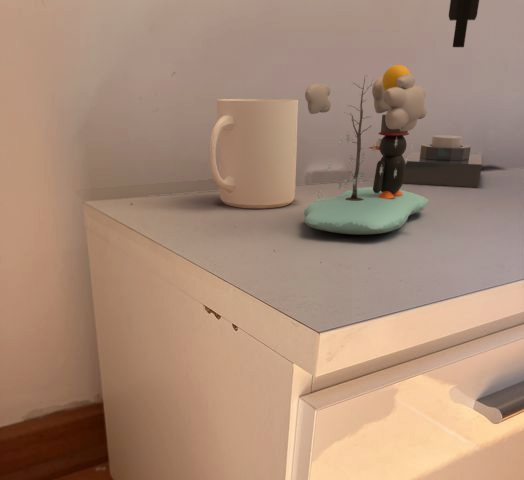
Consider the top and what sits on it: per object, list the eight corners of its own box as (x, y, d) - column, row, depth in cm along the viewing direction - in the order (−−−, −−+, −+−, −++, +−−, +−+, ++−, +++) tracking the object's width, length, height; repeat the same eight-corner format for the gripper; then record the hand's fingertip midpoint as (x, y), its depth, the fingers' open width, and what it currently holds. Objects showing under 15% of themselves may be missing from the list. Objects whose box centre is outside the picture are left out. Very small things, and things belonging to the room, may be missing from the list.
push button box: (478, 175, 94) (483, 143, 92) (478, 187, 83) (484, 151, 81) (410, 171, 97) (413, 140, 95) (401, 183, 86) (405, 148, 84)
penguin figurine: (355, 201, 72) (366, 67, 65) (440, 211, 67) (461, 67, 60) (278, 233, 56) (282, 61, 50) (381, 249, 51) (400, 60, 45)
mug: (307, 199, 73) (311, 100, 68) (261, 216, 63) (262, 102, 58) (244, 192, 77) (243, 98, 72) (192, 207, 68) (187, 100, 63)
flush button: (460, 147, 89) (462, 135, 88) (460, 150, 85) (461, 138, 85) (431, 146, 90) (433, 134, 90) (429, 149, 87) (431, 137, 86)
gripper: (433, -170, 71) (409, 45, 81) (547, -183, 67) (507, 45, 77) (436, -149, 77) (414, 48, 87) (541, -159, 73) (505, 48, 83)
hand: (458, 46), depth 82 cm, fingers closed
